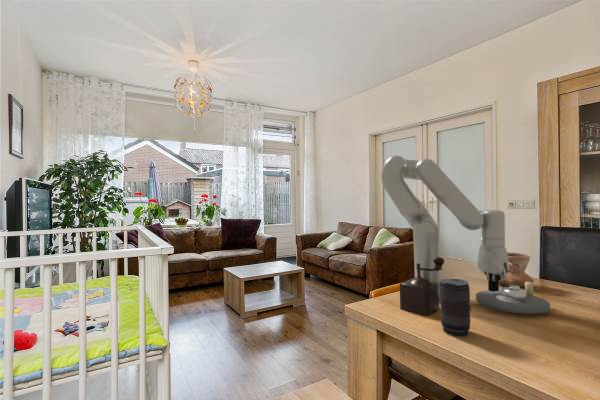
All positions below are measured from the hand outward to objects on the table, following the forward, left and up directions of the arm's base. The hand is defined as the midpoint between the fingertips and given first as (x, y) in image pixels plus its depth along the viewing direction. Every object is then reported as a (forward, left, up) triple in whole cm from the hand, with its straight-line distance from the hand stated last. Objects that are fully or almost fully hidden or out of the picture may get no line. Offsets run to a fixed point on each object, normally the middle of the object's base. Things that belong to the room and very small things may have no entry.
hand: (493, 290), depth 118 cm
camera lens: (-34, -18, -4) cm, 38 cm away
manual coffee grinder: (-29, +3, -4) cm, 29 cm away
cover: (+1, -8, -1) cm, 8 cm away
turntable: (0, -7, -3) cm, 7 cm away
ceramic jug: (+26, +14, -4) cm, 30 cm away
